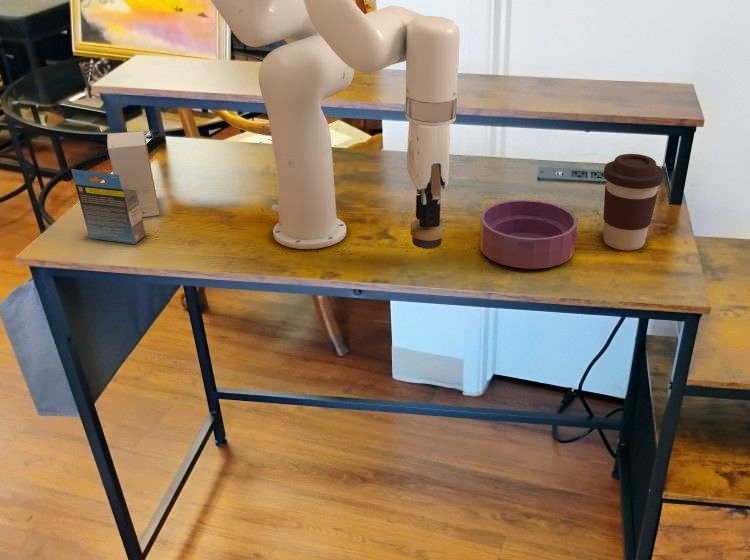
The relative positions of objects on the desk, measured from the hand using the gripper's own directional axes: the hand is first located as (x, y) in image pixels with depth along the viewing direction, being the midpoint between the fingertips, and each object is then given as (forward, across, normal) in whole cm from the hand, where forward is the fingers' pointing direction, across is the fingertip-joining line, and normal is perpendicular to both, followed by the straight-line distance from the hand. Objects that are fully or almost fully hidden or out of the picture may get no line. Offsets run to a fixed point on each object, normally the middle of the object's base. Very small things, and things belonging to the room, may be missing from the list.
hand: (427, 221), depth 134 cm
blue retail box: (+9, -19, -50) cm, 54 cm away
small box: (+10, -31, -47) cm, 57 cm away
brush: (+4, 0, 0) cm, 4 cm away
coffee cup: (+7, -1, +36) cm, 36 cm away
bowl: (+7, -1, +18) cm, 19 cm away
